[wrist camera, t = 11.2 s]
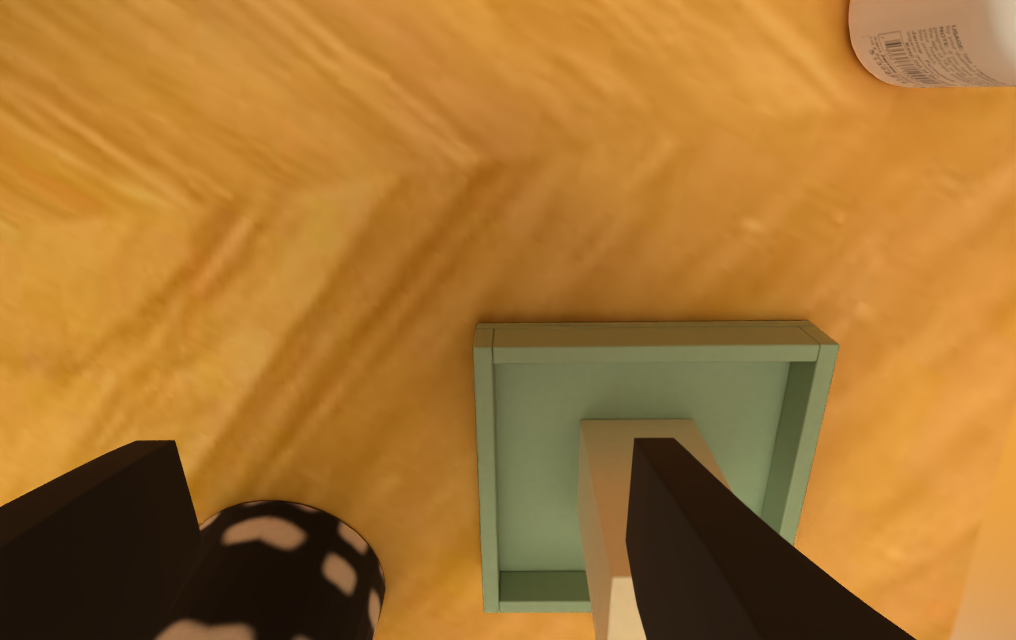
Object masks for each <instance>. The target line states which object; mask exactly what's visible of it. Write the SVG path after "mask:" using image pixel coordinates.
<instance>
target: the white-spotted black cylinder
mask: <svg viewBox="0 0 1016 640" xmlns="http://www.w3.org/2000/svg"><path fill="white" fill-rule="evenodd" d="M199 528H200V532H201V535H202V539H203V544H202V546H201V548H200V551H199V553H198V555H197V557H196V559H195V562H194V564H193V566H192V568H191V570H190V573H189V575H188V577H187V579H186V581H185V583H184V585H183V587H182V589H181V591H180V593H179V595H178V597H177V599H176V601H175V603H174V605H173V607H172V608H171V610H170V611H169V613H168V615H167V616H166V618H165V620H164V621H163V623H162V624H161V626H160V628H159V629H158V631H157V632H156V634H155V636H154V637H153V639H152V640H373V639H374V636H375V632H376V628H377V624H378V620H379V616H380V612H381V608H382V604H383V599H384V593H385V584H384V574H383V572H382V569H381V566H380V564H379V561H378V559H377V557H376V556H375V554H374V553H373V551H372V550H371V548H370V546H369V545H368V544H367V543H366V542H365V541H364V540H363V539H362V538H361V537H360V536H359V535H358V534H357V533H356V532H355V531H354V530H352V529H351V528H350V527H348V526H347V525H345V524H344V523H343V522H341V521H340V520H338V519H336V518H334V517H332V516H330V515H328V514H326V513H324V512H322V511H319V510H316V509H313V508H310V507H307V506H304V505H300V504H294V503H288V502H282V501H258V502H251V503H245V504H239V505H237V506H234V507H231V508H228V509H225V510H222V511H221V512H219V513H217V514H216V515H214V516H212V517H211V518H209V519H208V520H207V521H205V522H204V523H203V524H202V525H201V526H200V527H199Z"/></svg>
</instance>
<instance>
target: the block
mask: <svg viewBox="0 0 1016 640" xmlns="http://www.w3.org/2000/svg"><path fill="white" fill-rule="evenodd" d="M634 438H675V439H676V440H677V441H678V442H679V443H680V444H681V445H682V446H683V447H684V448H686V449H687V450H688V451H689V452H690V453H691V454H692V455H693V456H694V457H695V458H696V459H697V460H698V461H699V462H700V463H701V464H702V465H703V466H704V467H705V468H707V469H708V470H709V471H710V472H711V473H712V474H713V475H714V476H715V477H716V478H717V479H718V480H719V481H720V482H721V483H722V484H724V485H725V486H726V487H727V488H728V489H729V490H730V491H731V492H732V490H731V488H730V486H729V484H728V482H727V481H726V479H725V477H724V475H723V473H722V471H721V470H720V468H719V466H718V464H717V462H716V460H715V459H714V457H713V455H712V453H711V451H710V449H709V448H708V446H707V444H706V442H705V440H704V438H703V437H702V435H701V433H700V431H699V429H698V427H697V426H696V424H695V422H694V420H693V419H628V420H581V421H580V438H579V462H578V486H577V515H578V522H579V529H580V535H581V542H582V549H583V555H584V562H585V569H586V575H587V582H588V589H589V595H590V602H591V609H592V615H593V622H594V629H595V635H596V640H647V639H646V636H645V633H644V629H643V626H642V622H641V619H640V615H639V612H638V608H637V604H636V599H635V594H634V588H633V583H632V577H631V571H630V565H629V559H628V553H627V547H626V541H625V539H626V527H627V516H628V504H629V492H630V480H631V468H632V456H633V445H634ZM732 493H733V492H732ZM733 494H734V493H733Z"/></svg>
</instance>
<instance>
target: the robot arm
mask: <svg viewBox="0 0 1016 640" xmlns="http://www.w3.org/2000/svg"><path fill="white" fill-rule="evenodd" d="M625 541H626V547H627V553H628V559H629V565H630V571H631V577H632V583H633V588H634V594H635V599H636V604H637V608H638V612H639V615H640V619H641V622H642V626H643V629H644V633H645V636H646V639H647V640H916V639H915V638H913V637H912V636H911V635H909V634H908V633H906V632H905V631H904V630H902V629H901V628H899V627H898V626H896V625H895V624H894V623H892V622H891V621H889V620H888V619H887V618H885V617H884V616H882V615H881V614H879V613H878V612H877V611H875V610H874V609H872V608H871V607H870V606H868V605H867V604H866V603H864V602H863V601H862V600H860V599H859V598H858V597H856V596H855V595H854V594H852V593H851V592H850V591H848V590H847V589H846V588H845V587H843V586H842V585H841V584H839V583H838V582H837V581H836V580H834V579H833V578H832V577H831V576H829V575H828V574H827V573H826V572H824V571H823V570H822V569H821V568H819V567H818V566H817V565H816V564H814V563H813V562H812V561H811V560H809V559H808V558H807V557H806V556H804V555H803V554H802V553H801V552H799V551H798V550H797V549H796V548H795V547H794V546H792V545H791V544H790V543H789V542H788V541H786V540H785V539H784V538H783V537H782V536H780V535H779V534H778V533H777V532H776V531H775V530H773V529H772V528H771V527H770V526H769V525H768V524H767V523H765V522H764V521H763V520H762V519H761V518H760V517H759V516H758V515H756V514H755V513H754V512H753V511H752V510H751V509H750V508H749V507H747V506H746V505H745V504H744V503H743V502H742V501H741V500H740V499H739V498H738V497H736V496H735V495H734V494H733V493H732V492H731V491H730V490H729V489H728V488H727V487H726V486H725V485H724V484H722V483H721V482H720V481H719V480H718V479H717V478H716V477H715V476H714V475H713V474H712V473H711V472H710V471H709V470H708V469H707V468H705V467H704V466H703V465H702V464H701V463H700V462H699V461H698V460H697V459H696V458H695V457H694V456H693V455H692V454H691V453H690V452H689V451H688V450H687V449H686V448H684V447H683V446H682V445H681V444H680V443H679V442H678V441H677V440H676V439H675V438H634V445H633V456H632V468H631V480H630V492H629V504H628V516H627V527H626V539H625ZM202 544H203V539H202V535H201V532H200V528H199V525H198V521H197V517H196V514H195V510H194V507H193V503H192V500H191V496H190V492H189V489H188V485H187V482H186V478H185V475H184V471H183V468H182V464H181V460H180V457H179V453H178V450H177V446H176V443H175V440H146V441H134V442H132V443H130V444H127V445H125V446H122V447H120V448H117V449H115V450H113V451H111V452H109V453H106V454H104V455H102V456H100V457H98V458H96V459H94V460H92V461H90V462H88V463H86V464H84V465H82V466H80V467H78V468H76V469H74V470H72V471H70V472H68V473H66V474H64V475H62V476H60V477H58V478H56V479H54V480H52V481H50V482H48V483H46V484H44V485H42V486H40V487H38V488H36V489H34V490H32V491H30V492H29V493H27V494H25V495H23V496H21V497H19V498H17V499H15V500H13V501H11V502H9V503H7V504H5V505H3V506H1V507H0V640H152V639H153V637H154V636H155V634H156V632H157V631H158V629H159V628H160V626H161V624H162V623H163V621H164V620H165V618H166V616H167V615H168V613H169V611H170V610H171V608H172V607H173V605H174V603H175V601H176V599H177V597H178V595H179V593H180V591H181V589H182V587H183V585H184V583H185V581H186V579H187V577H188V575H189V573H190V570H191V568H192V566H193V564H194V562H195V559H196V557H197V555H198V553H199V551H200V548H201V546H202Z"/></svg>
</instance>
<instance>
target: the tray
mask: <svg viewBox="0 0 1016 640" xmlns="http://www.w3.org/2000/svg"><path fill="white" fill-rule="evenodd" d="M838 350H839V344H838V343H837V342H835V341H834V340H833V339H831V338H830V337H829V336H828V335H826V334H825V333H824V332H823V331H821V330H820V329H819V328H817V327H816V326H815V325H814V324H812V323H811V322H810V321H808V320H802V321H683V322H565V323H478V324H477V325H476V332H475V338H474V344H473V365H474V389H475V414H476V438H477V463H478V488H479V512H480V537H481V561H482V586H483V611H484V613H498V612H499V611H500V612H501V613H569V612H592V609H591V602H590V595H589V589H588V582H587V575H586V569H585V562H584V555H583V549H582V542H581V535H580V529H579V522H578V515H577V486H578V462H579V438H580V421H581V420H628V419H693V420H694V422H695V424H696V426H697V427H698V429H699V431H700V433H701V435H702V437H703V438H704V440H705V442H706V444H707V446H708V448H709V449H710V451H711V453H712V455H713V457H714V459H715V460H716V462H717V464H718V466H719V468H720V470H721V471H722V473H723V475H724V477H725V479H726V481H727V482H728V484H729V486H730V488H731V490H732V492H733V493H734V495H735V496H736V497H738V498H739V499H740V500H741V501H742V502H743V503H744V504H745V505H746V506H747V507H749V508H750V509H751V510H752V511H753V512H754V513H755V514H756V515H758V516H759V517H760V518H761V519H762V520H763V521H764V522H765V523H767V524H768V525H769V526H770V527H771V528H772V529H773V530H775V531H776V532H777V533H778V534H779V535H780V536H782V537H783V538H784V539H785V540H786V541H788V542H789V543H790V544H791V545H792V546H793V545H794V541H795V536H796V532H797V528H798V523H799V519H800V515H801V510H802V506H803V502H804V497H805V493H806V489H807V484H808V480H809V476H810V471H811V467H812V463H813V458H814V454H815V450H816V445H817V441H818V437H819V432H820V428H821V424H822V419H823V415H824V411H825V406H826V402H827V398H828V393H829V389H830V385H831V380H832V376H833V372H834V367H835V363H836V359H837V354H838Z"/></svg>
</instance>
